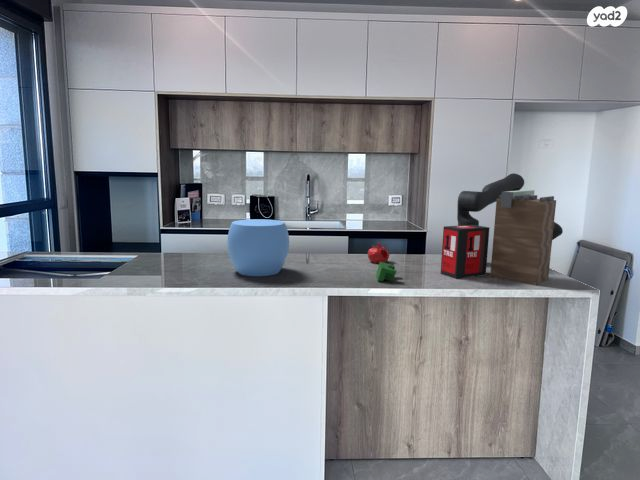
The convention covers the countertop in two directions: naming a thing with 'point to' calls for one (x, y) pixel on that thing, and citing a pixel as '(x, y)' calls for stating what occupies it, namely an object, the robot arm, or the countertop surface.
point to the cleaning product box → (464, 251)
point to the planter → (258, 246)
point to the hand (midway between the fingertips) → (532, 201)
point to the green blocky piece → (385, 272)
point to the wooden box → (523, 239)
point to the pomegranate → (378, 254)
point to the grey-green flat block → (513, 196)
